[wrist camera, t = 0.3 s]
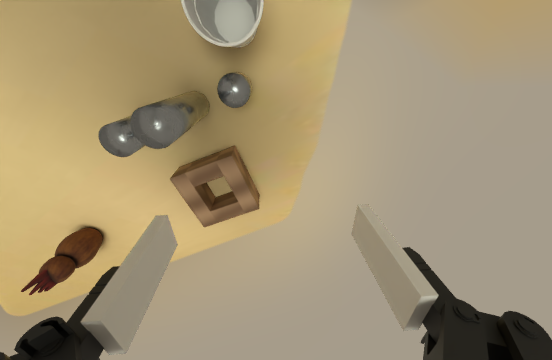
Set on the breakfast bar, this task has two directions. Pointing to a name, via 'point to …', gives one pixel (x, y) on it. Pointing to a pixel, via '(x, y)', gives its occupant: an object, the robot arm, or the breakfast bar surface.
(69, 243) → the wooden figurine
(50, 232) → the breakfast bar surface
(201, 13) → the cup
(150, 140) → the long pin
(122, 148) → the medium pin
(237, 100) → the short pin
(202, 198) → the hole block
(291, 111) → the breakfast bar surface
